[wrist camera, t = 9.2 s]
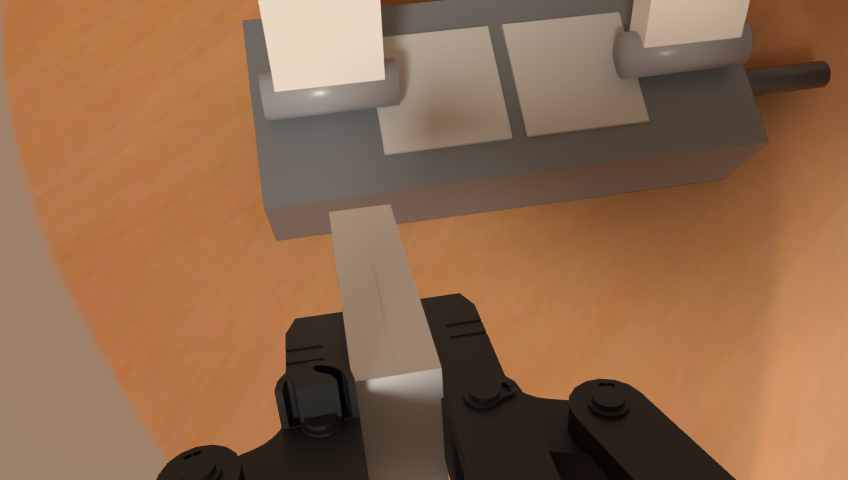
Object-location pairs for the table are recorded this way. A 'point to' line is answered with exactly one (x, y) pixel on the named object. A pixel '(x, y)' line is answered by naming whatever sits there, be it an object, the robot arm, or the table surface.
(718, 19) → the grey-capped paddle
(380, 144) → the power strip
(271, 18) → the orange-capped paddle
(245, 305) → the table surface
